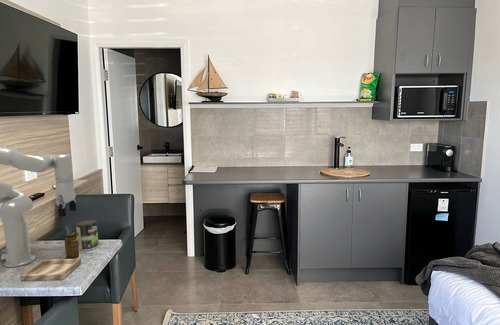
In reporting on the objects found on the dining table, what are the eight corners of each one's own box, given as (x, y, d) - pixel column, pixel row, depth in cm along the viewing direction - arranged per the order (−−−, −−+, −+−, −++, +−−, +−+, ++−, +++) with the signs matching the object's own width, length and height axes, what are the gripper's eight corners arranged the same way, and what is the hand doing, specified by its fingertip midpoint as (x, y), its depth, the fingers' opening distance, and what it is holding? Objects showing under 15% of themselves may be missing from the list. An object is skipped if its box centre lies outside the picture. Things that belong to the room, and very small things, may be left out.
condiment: (79, 252, 179) (77, 230, 177) (81, 258, 172) (79, 235, 170) (64, 256, 175) (61, 233, 173) (65, 262, 168) (62, 238, 166)
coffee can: (103, 244, 190) (100, 219, 188) (89, 251, 180) (87, 225, 178) (87, 242, 193) (85, 218, 191) (73, 250, 183) (70, 224, 181)
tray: (21, 281, 150) (20, 275, 149) (43, 264, 166) (42, 259, 166) (62, 280, 150) (62, 274, 149) (81, 263, 166) (80, 258, 165)
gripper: (66, 176, 176) (69, 208, 179) (46, 183, 159) (50, 218, 162) (80, 175, 176) (83, 208, 179) (62, 182, 159) (66, 218, 162)
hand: (68, 213), depth 170 cm, fingers open, 9 cm apart
